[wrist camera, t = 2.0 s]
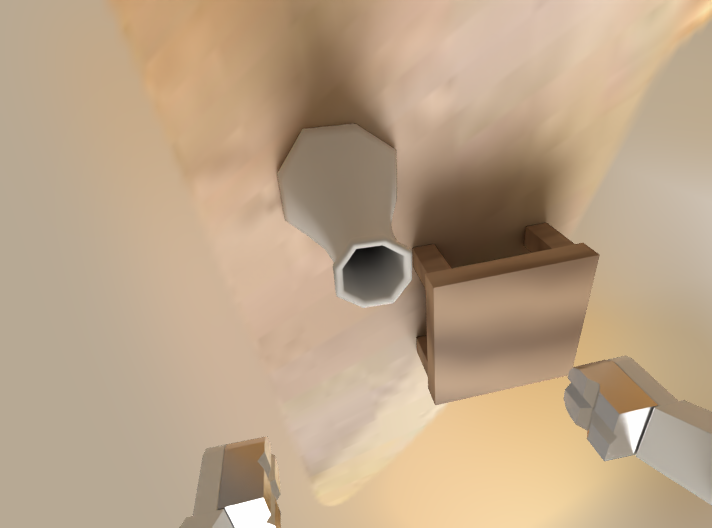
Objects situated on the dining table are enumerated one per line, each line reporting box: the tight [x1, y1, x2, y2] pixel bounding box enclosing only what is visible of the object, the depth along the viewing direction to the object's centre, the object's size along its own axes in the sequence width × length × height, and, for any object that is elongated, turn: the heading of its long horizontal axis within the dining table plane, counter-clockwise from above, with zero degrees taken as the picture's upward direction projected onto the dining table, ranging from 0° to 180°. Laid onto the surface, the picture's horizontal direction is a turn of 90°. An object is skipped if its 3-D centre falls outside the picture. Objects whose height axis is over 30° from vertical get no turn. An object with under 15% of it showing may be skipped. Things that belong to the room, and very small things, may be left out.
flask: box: [277, 123, 412, 308], centre depth 20 cm, size 7×7×10 cm
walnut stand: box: [412, 223, 599, 405], centre depth 28 cm, size 10×10×5 cm
